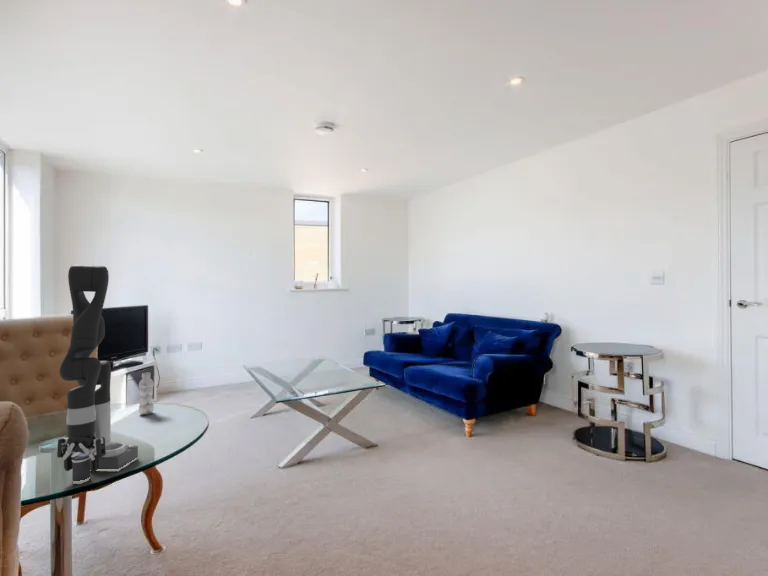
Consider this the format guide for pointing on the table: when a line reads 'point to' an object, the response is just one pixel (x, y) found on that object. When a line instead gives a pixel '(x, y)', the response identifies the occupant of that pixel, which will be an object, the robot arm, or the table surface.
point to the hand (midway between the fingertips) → (81, 470)
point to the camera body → (117, 455)
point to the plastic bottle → (146, 394)
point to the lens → (80, 467)
